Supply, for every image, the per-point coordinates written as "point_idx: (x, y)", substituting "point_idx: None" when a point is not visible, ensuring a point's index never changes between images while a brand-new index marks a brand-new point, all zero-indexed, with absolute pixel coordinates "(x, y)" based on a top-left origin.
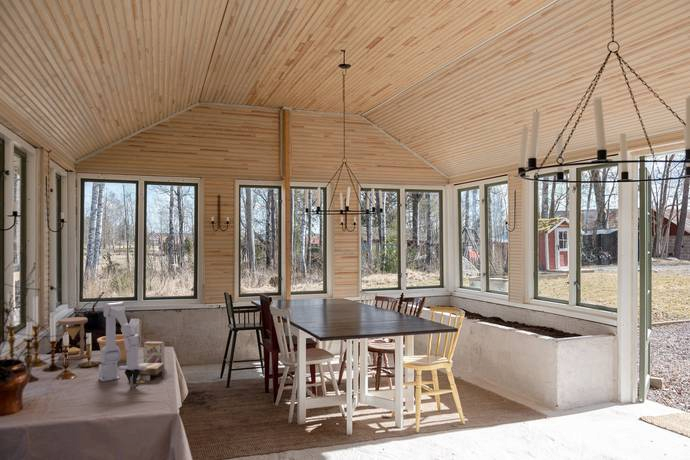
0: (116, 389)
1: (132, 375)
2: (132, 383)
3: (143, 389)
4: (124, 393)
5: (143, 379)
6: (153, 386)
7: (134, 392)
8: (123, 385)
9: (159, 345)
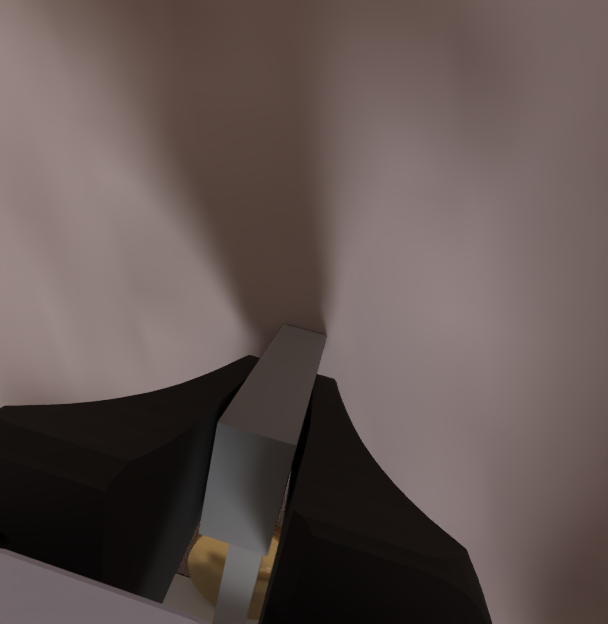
0: (536, 319)
1: (258, 537)
2: (273, 351)
3: (118, 216)
4: (369, 16)
5: (216, 599)
6: (39, 333)
7: (206, 58)
8: (441, 491)
9: None
